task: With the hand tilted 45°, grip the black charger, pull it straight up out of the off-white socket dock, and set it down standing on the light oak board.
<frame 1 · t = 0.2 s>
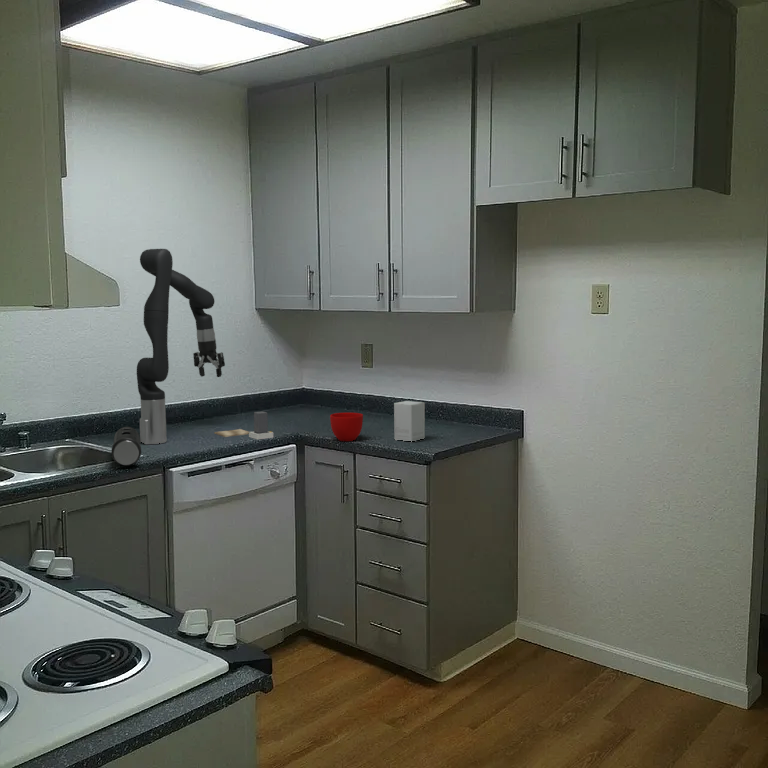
hand: (210, 376, 350), 22 cm above the worktop, tool pointing down, fingers open, 8 cm apart
socket dock: (261, 438, 328), on the worktop
supplement box: (409, 440, 323), on the worktop
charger: (261, 437, 328), resting on socket dock
ceramic cup: (349, 439, 326), on the worktop
muzzle brake: (127, 461, 286), on the worktop
oak board: (232, 434, 336), on the worktop
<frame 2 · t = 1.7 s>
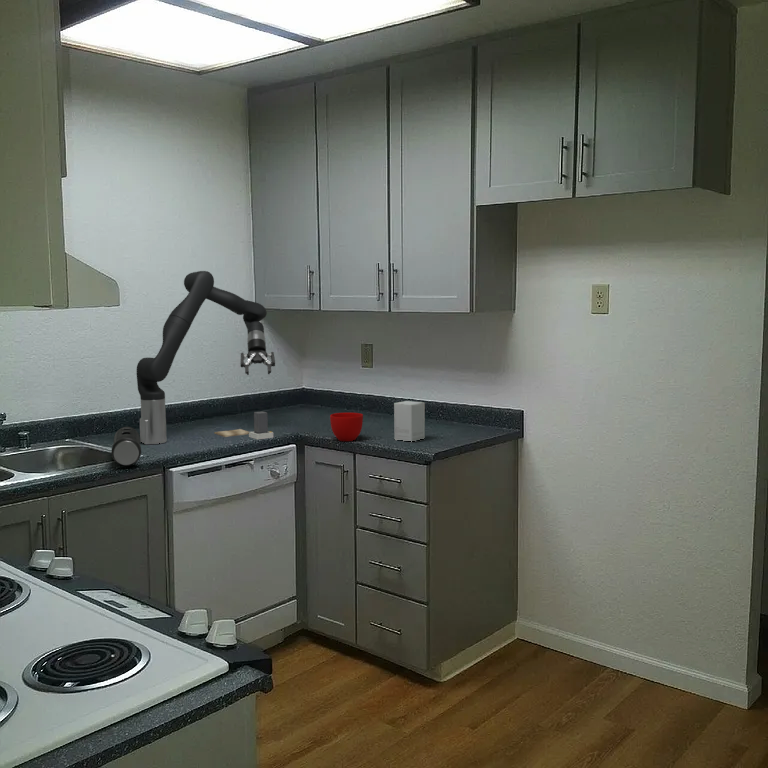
hand: (258, 373, 337), 25 cm above the worktop, tool tilted 45°, fingers open, 8 cm apart
nothing on the worktop moved.
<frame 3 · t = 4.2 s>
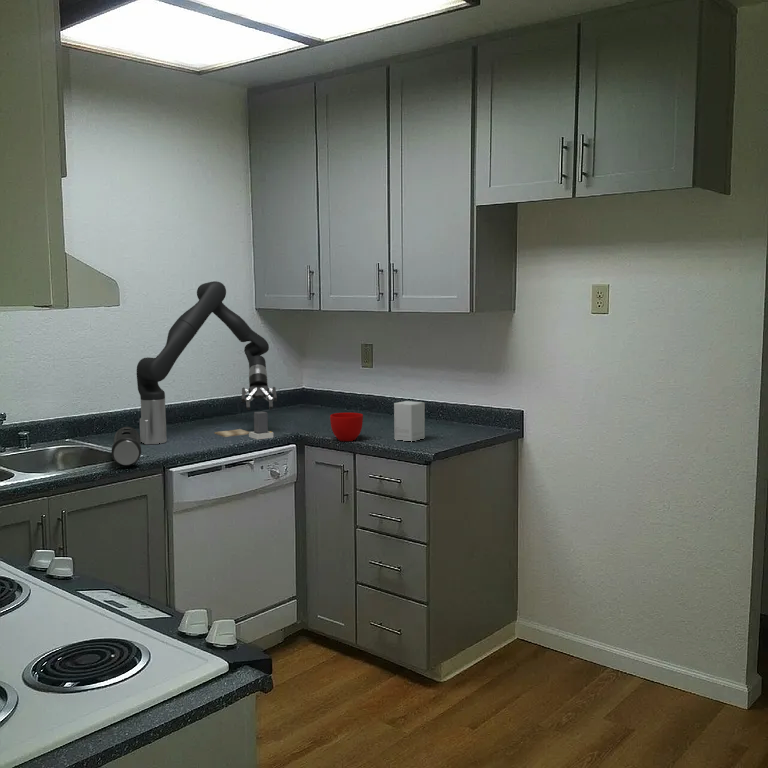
hand: (259, 409, 333), 11 cm above the worktop, tool tilted 45°, fingers open, 8 cm apart
nothing on the worktop moved.
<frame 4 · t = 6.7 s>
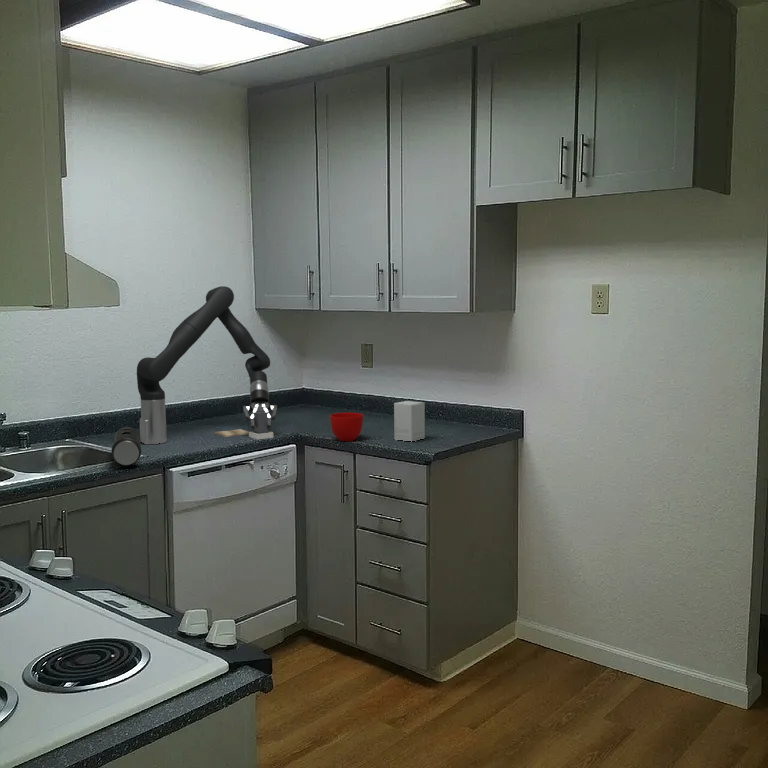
hand: (261, 427, 325), 5 cm above the worktop, tool tilted 45°, fingers closed on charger, 5 cm apart
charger: (261, 437, 328), resting on socket dock, touching gripper
everything else where it was.
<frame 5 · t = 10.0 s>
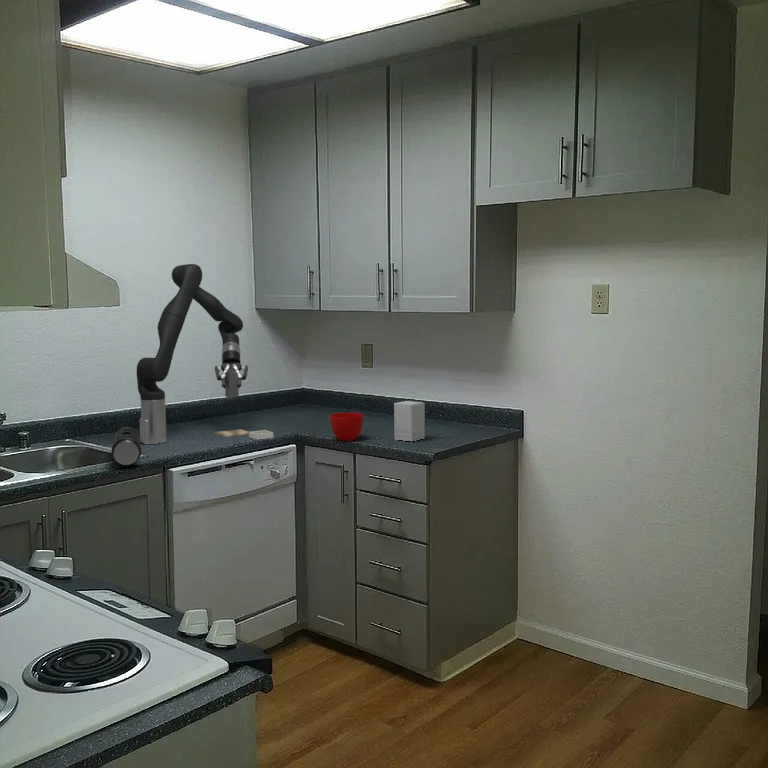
hand: (231, 386, 332), 20 cm above the worktop, tool tilted 45°, fingers closed on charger, 5 cm apart
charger: (232, 396, 334), point 16 cm above the worktop, touching gripper
everything else where it was.
when the fingers open (7 cm above the worktop, at t = 13.7 s): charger drops 1 cm, resting on oak board.
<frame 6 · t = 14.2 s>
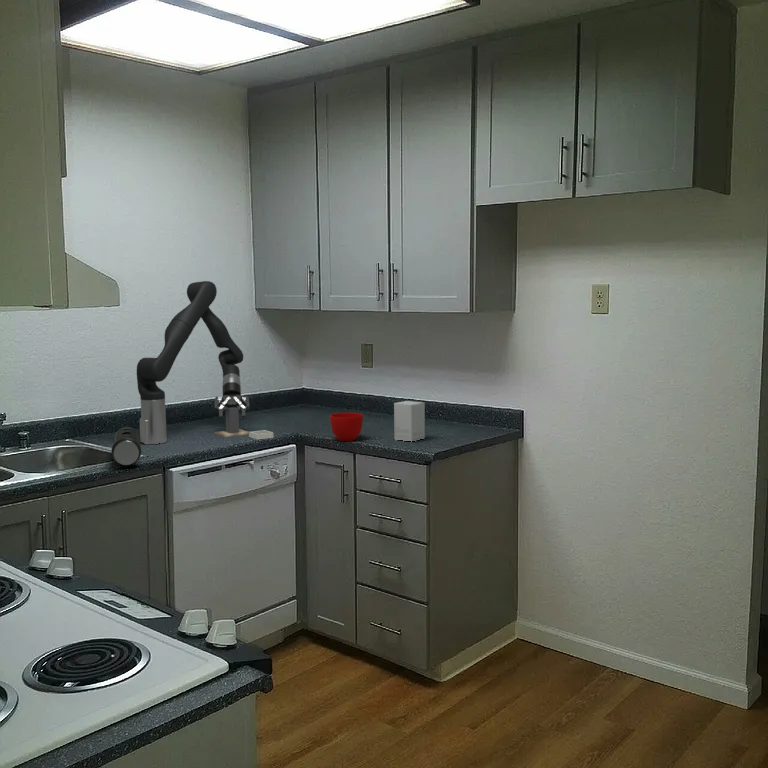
hand: (232, 418, 334), 7 cm above the worktop, tool tilted 45°, fingers open, 8 cm apart
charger: (232, 432, 336), point 1 cm above the worktop, touching oak board
everything else where it was.
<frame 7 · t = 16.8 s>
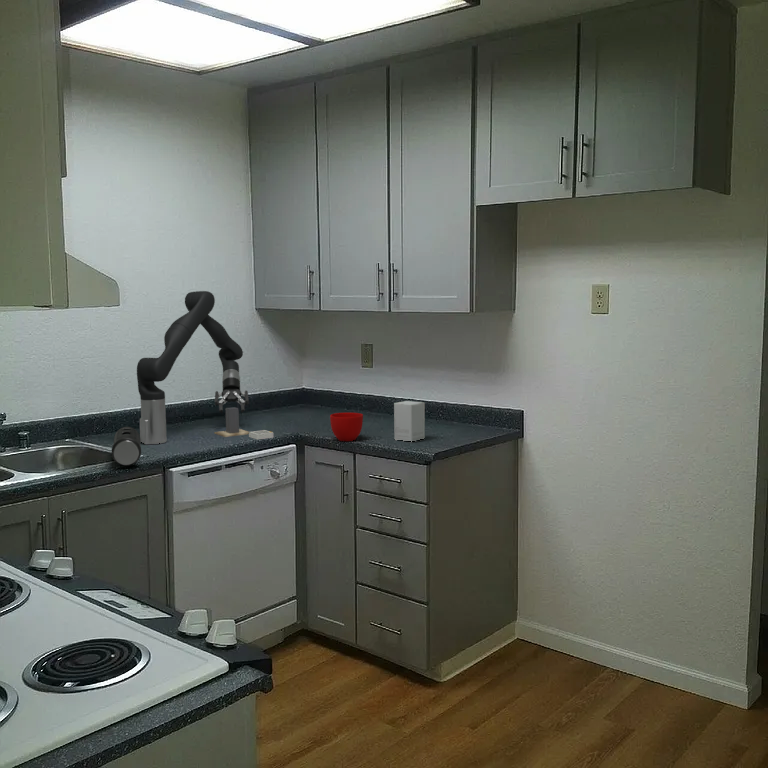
hand: (232, 411, 347), 8 cm above the worktop, tool tilted 45°, fingers open, 8 cm apart
nothing on the worktop moved.
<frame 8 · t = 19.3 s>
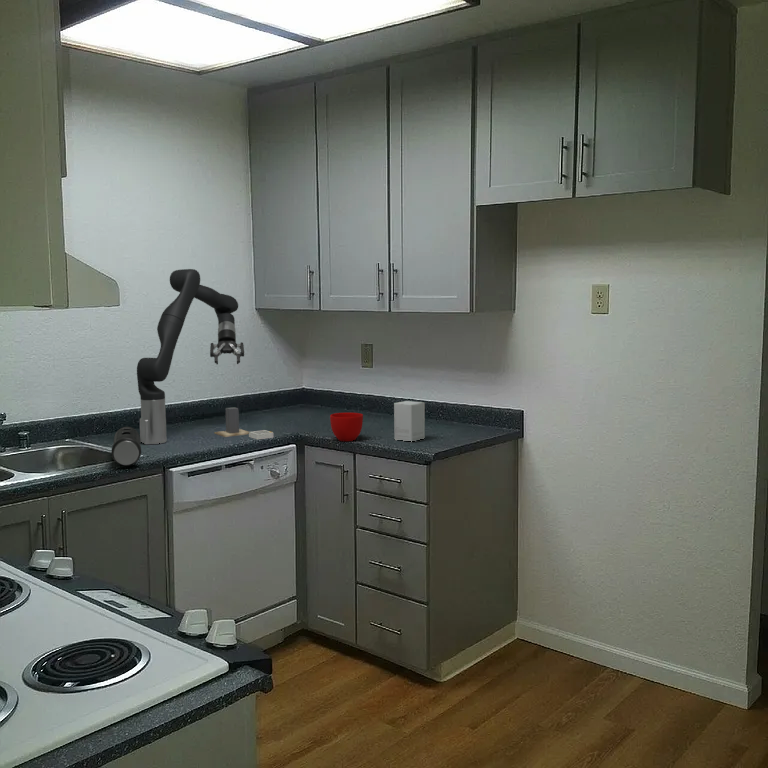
hand: (227, 363, 344), 29 cm above the worktop, tool tilted 45°, fingers open, 8 cm apart
nothing on the worktop moved.
at the end: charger inside the target area on the oak board (0.1 cm from its centre), point 1.0 cm above the oak board's base; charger tilted 0°; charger touching oak board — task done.
